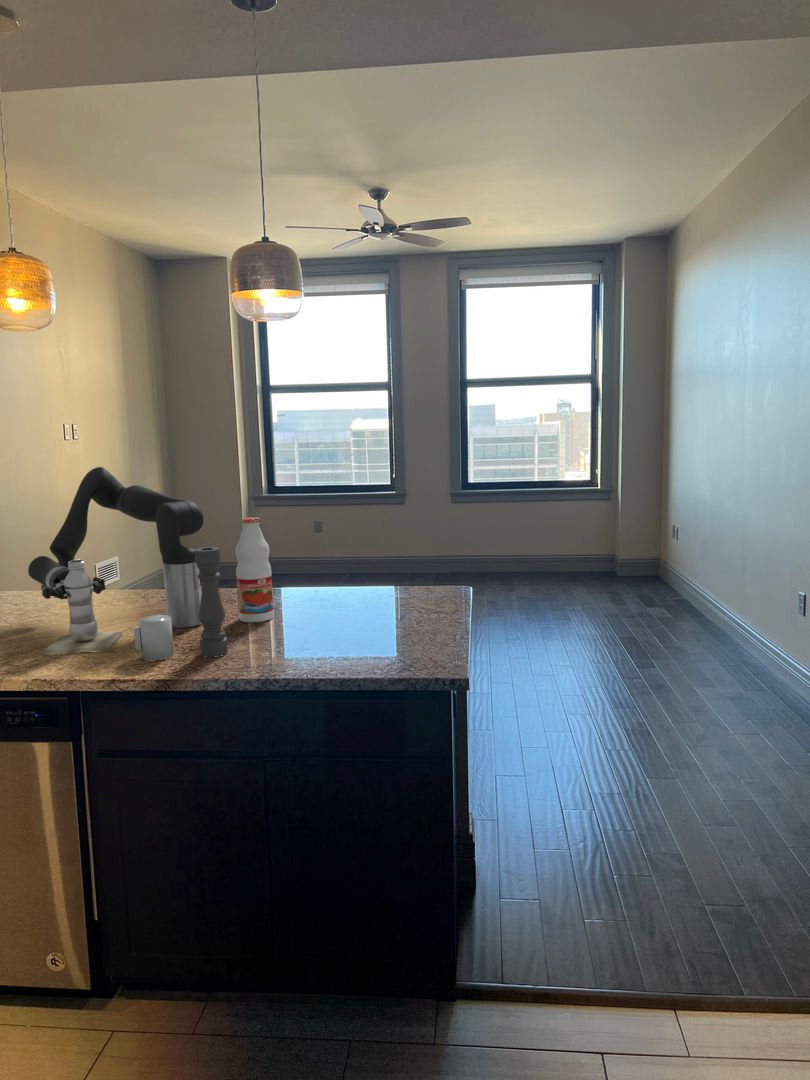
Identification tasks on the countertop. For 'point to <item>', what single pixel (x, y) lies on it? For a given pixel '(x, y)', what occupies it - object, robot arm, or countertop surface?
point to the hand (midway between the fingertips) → (81, 592)
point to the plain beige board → (83, 644)
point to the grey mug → (154, 637)
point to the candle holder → (210, 603)
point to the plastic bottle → (80, 602)
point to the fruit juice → (253, 574)
